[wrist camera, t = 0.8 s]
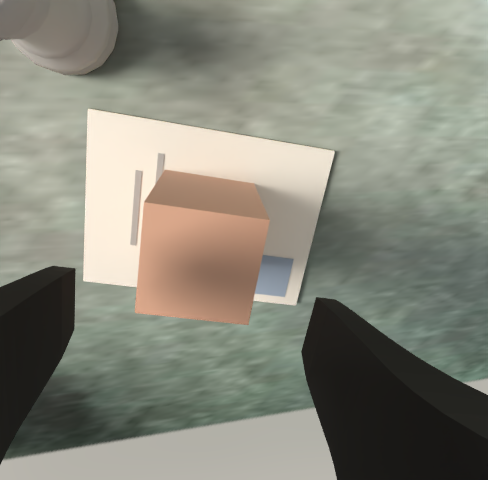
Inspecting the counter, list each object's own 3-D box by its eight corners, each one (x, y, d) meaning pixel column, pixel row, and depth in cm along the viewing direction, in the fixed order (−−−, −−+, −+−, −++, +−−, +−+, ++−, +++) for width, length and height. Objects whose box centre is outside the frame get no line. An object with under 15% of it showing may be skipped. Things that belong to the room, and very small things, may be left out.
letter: (85, 278, 21) (82, 281, 20) (90, 108, 18) (87, 108, 17) (294, 302, 22) (296, 306, 22) (333, 150, 19) (335, 151, 19)
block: (156, 252, 20) (134, 312, 15) (165, 169, 19) (144, 202, 13) (239, 262, 21) (248, 324, 15) (253, 183, 19) (269, 220, 14)
